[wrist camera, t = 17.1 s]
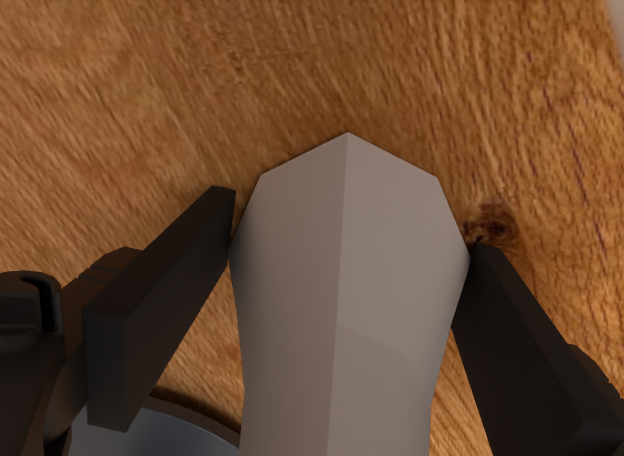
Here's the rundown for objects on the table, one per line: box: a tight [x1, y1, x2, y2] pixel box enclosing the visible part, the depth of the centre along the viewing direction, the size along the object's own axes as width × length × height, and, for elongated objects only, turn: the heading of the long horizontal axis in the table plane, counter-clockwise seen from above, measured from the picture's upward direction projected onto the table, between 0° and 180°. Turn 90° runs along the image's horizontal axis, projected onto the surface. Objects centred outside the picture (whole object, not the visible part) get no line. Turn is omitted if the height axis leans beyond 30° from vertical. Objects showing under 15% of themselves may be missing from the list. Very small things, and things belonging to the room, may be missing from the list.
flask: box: [228, 132, 471, 456], centre depth 9 cm, size 7×7×10 cm
